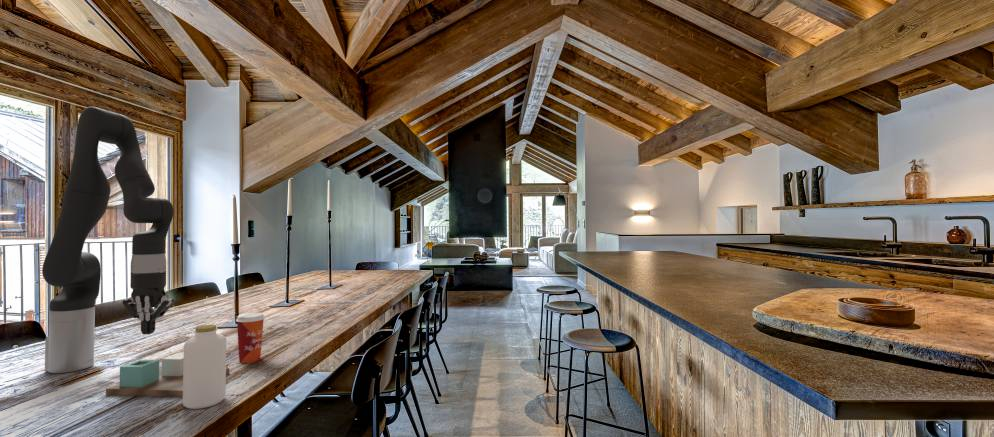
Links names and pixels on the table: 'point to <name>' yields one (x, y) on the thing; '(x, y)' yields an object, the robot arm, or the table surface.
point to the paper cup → (250, 336)
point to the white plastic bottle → (204, 368)
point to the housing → (173, 365)
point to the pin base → (153, 387)
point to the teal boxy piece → (139, 373)
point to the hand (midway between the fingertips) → (148, 333)
